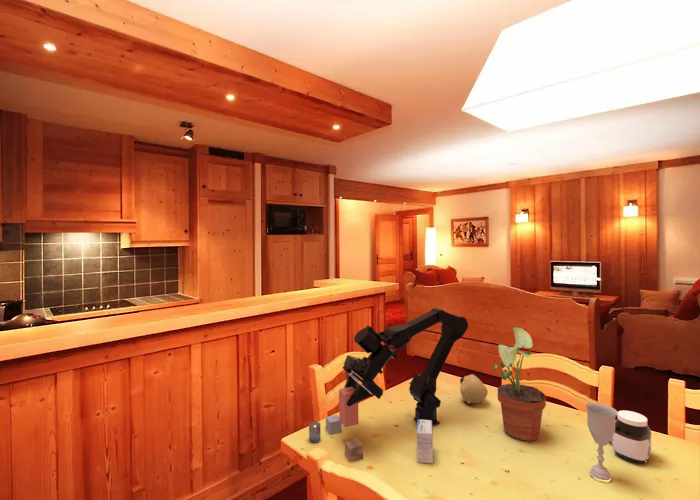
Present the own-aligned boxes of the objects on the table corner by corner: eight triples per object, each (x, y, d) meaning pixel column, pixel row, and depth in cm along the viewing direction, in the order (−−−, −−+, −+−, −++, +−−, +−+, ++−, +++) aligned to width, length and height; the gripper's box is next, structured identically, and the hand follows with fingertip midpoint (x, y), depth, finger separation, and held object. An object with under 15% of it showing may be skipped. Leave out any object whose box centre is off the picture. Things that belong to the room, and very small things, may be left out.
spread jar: (640, 469, 99) (640, 426, 98) (594, 448, 108) (594, 410, 108) (657, 454, 105) (658, 414, 105) (613, 436, 115) (613, 400, 114)
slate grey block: (337, 426, 123) (337, 414, 123) (341, 432, 119) (341, 420, 119) (325, 429, 121) (325, 417, 121) (330, 434, 118) (329, 422, 117)
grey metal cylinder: (318, 436, 117) (318, 420, 117) (322, 441, 113) (322, 425, 113) (307, 438, 115) (307, 423, 115) (311, 444, 112) (310, 428, 112)
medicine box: (433, 464, 102) (433, 433, 101) (416, 462, 102) (416, 432, 102) (432, 448, 109) (432, 420, 109) (417, 446, 110) (417, 418, 110)
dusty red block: (352, 417, 116) (352, 386, 116) (358, 424, 112) (358, 392, 112) (339, 420, 115) (339, 389, 114) (345, 427, 110) (344, 394, 110)
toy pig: (481, 395, 146) (481, 368, 145) (491, 409, 134) (491, 380, 133) (456, 394, 146) (456, 368, 146) (463, 408, 134) (463, 380, 134)
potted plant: (489, 419, 126) (489, 318, 125) (537, 423, 123) (538, 320, 122) (498, 444, 111) (498, 330, 110) (553, 450, 108) (554, 332, 106)
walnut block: (357, 451, 108) (357, 438, 108) (363, 459, 104) (362, 445, 104) (344, 455, 107) (344, 441, 106) (350, 462, 103) (350, 448, 103)
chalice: (578, 468, 99) (578, 403, 98) (601, 467, 100) (602, 401, 99) (598, 486, 92) (599, 416, 91) (624, 485, 92) (625, 414, 92)
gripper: (347, 338, 123) (316, 376, 119) (373, 354, 106) (338, 399, 102) (368, 358, 126) (339, 396, 122) (397, 377, 109) (364, 421, 105)
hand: (344, 402), depth 113 cm, fingers closed on dusty red block, 4 cm apart
